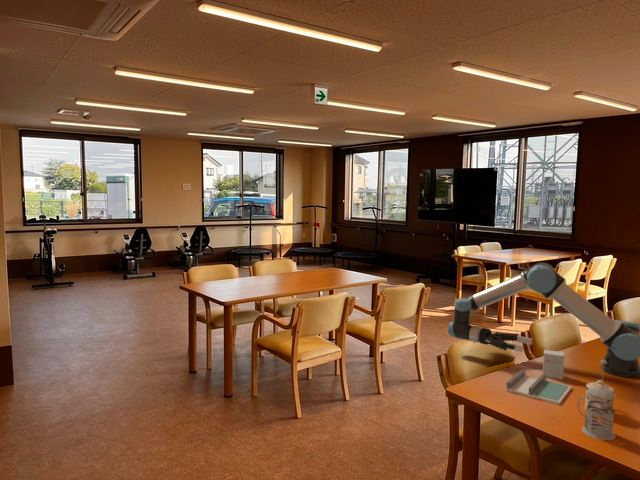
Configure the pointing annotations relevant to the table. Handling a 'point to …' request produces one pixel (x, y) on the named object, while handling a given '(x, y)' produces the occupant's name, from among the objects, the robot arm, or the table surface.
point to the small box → (553, 364)
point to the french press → (591, 425)
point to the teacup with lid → (609, 401)
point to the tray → (537, 388)
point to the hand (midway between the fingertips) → (527, 345)
